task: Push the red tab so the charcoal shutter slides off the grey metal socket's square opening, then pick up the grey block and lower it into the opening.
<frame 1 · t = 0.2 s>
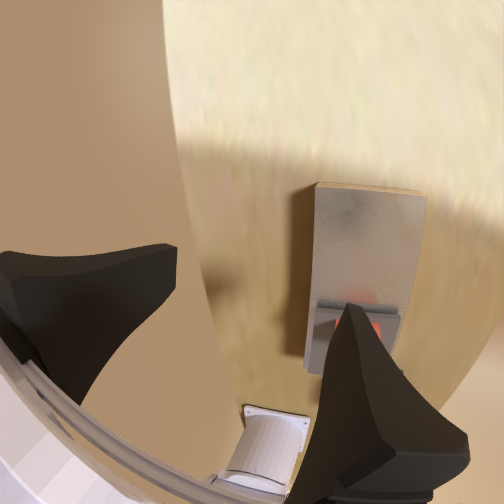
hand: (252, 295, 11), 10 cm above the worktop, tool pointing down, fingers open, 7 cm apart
shutter: (351, 358, 17), point 4 cm above the worktop, slide at 0.0 cm
socket: (352, 323, 20), on the worktop
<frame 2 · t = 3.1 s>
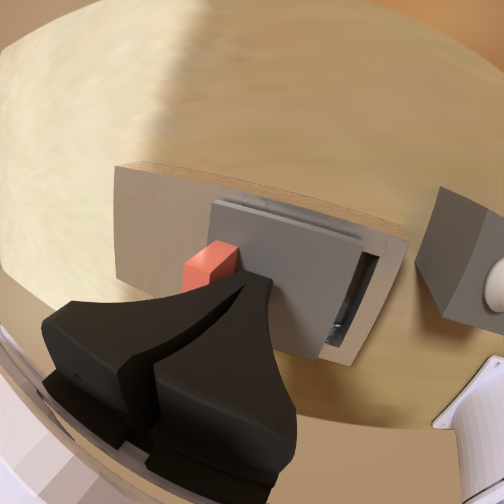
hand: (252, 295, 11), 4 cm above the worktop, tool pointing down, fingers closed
shutter: (262, 302, 10), point 4 cm above the worktop, slide at 1.5 cm, touching gripper
socket: (312, 268, 14), on the worktop
grey block: (458, 237, 11), on the worktop
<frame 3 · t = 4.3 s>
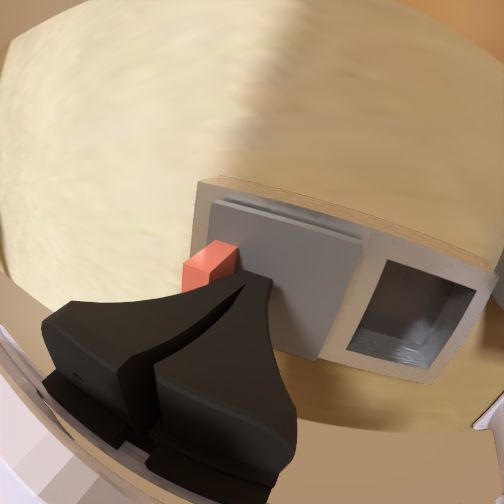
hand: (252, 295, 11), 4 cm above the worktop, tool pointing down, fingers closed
shutter: (261, 302, 10), point 4 cm above the worktop, slide at 6.8 cm, touching gripper
socket: (405, 297, 12), on the worktop
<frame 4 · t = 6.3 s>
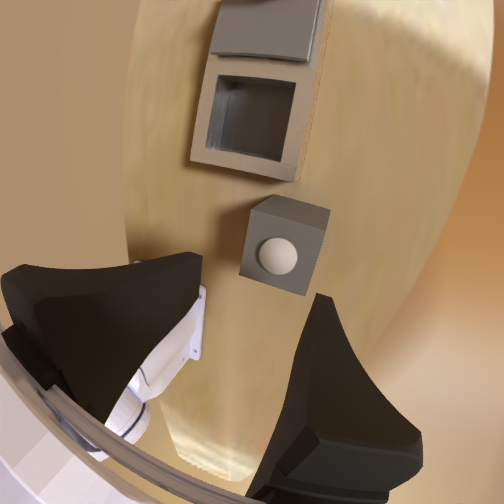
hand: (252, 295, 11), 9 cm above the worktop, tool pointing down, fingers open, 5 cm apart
shutter: (258, 6, 10), point 4 cm above the worktop, slide at 6.9 cm
socket: (259, 118, 17), on the worktop
grey block: (295, 228, 19), on the worktop
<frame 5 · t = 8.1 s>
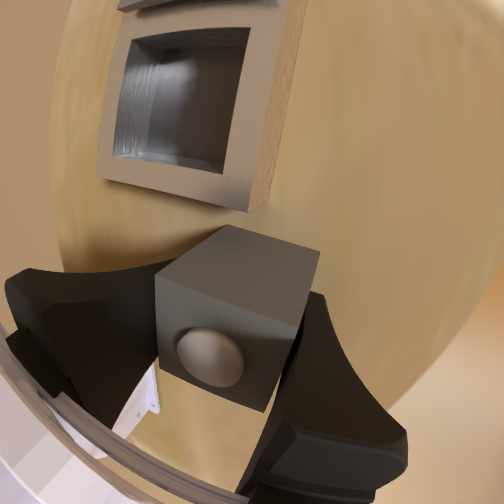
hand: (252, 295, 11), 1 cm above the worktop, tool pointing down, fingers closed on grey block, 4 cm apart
socket: (202, 101, 10), on the worktop
grey block: (263, 279, 12), on the worktop, touching gripper
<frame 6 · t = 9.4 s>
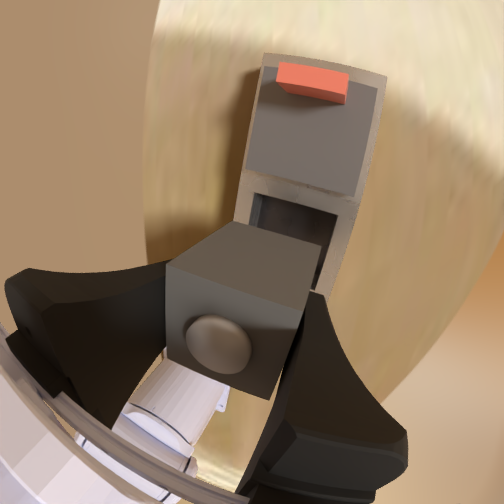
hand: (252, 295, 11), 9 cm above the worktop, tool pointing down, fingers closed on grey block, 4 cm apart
shutter: (307, 124, 12), point 4 cm above the worktop, slide at 6.9 cm
socket: (293, 231, 18), on the worktop
grey block: (266, 273, 12), point 7 cm above the worktop, touching gripper
when the fingers open (3 cm above the worktop, at t = 11.0 s): grey block drops 1 cm, resting on socket.
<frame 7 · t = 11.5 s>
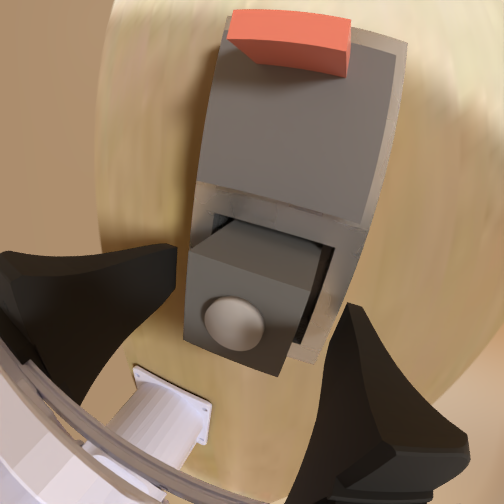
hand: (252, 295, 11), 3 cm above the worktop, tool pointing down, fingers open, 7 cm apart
shutter: (285, 108, 7), point 4 cm above the worktop, slide at 6.9 cm
socket: (274, 262, 14), on the worktop
grey block: (273, 263, 13), resting on socket
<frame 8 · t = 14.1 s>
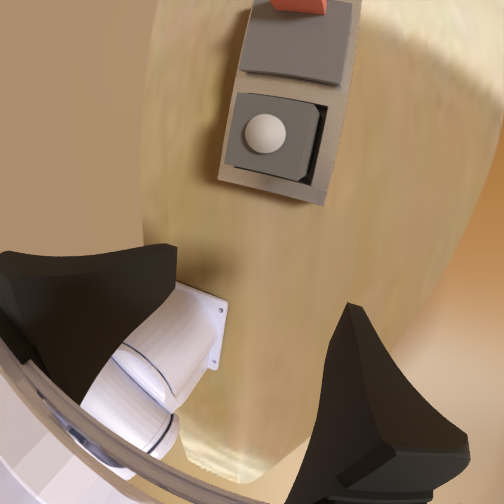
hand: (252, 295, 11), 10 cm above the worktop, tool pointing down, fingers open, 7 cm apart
shutter: (292, 25, 11), point 4 cm above the worktop, slide at 6.9 cm
socket: (287, 138, 17), on the worktop
grey block: (286, 138, 17), resting on socket
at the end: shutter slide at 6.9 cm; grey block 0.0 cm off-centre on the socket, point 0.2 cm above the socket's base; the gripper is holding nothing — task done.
